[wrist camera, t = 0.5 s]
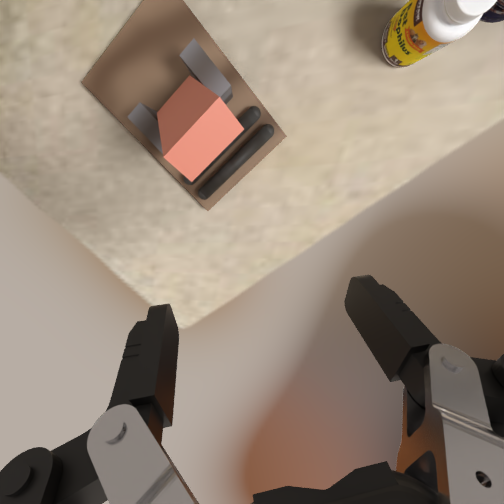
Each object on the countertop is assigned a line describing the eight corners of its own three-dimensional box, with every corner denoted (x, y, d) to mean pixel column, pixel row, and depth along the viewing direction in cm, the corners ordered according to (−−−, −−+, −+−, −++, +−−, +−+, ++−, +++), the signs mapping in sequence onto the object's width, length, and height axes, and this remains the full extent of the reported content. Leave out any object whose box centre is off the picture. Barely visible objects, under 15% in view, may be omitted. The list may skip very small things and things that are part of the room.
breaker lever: (204, 95, 27) (244, 129, 16) (174, 128, 28) (191, 181, 17) (188, 74, 25) (219, 96, 14) (156, 110, 26) (163, 157, 16)
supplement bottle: (375, 22, 28) (443, -48, 18) (424, 1, 27) (520, -82, 18) (382, 77, 30) (448, 39, 20) (428, 58, 29) (517, 11, 20)
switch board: (284, 137, 32) (294, 132, 26) (209, 209, 35) (202, 219, 29) (167, -16, 26) (144, -69, 20) (89, 85, 29) (48, 66, 23)
